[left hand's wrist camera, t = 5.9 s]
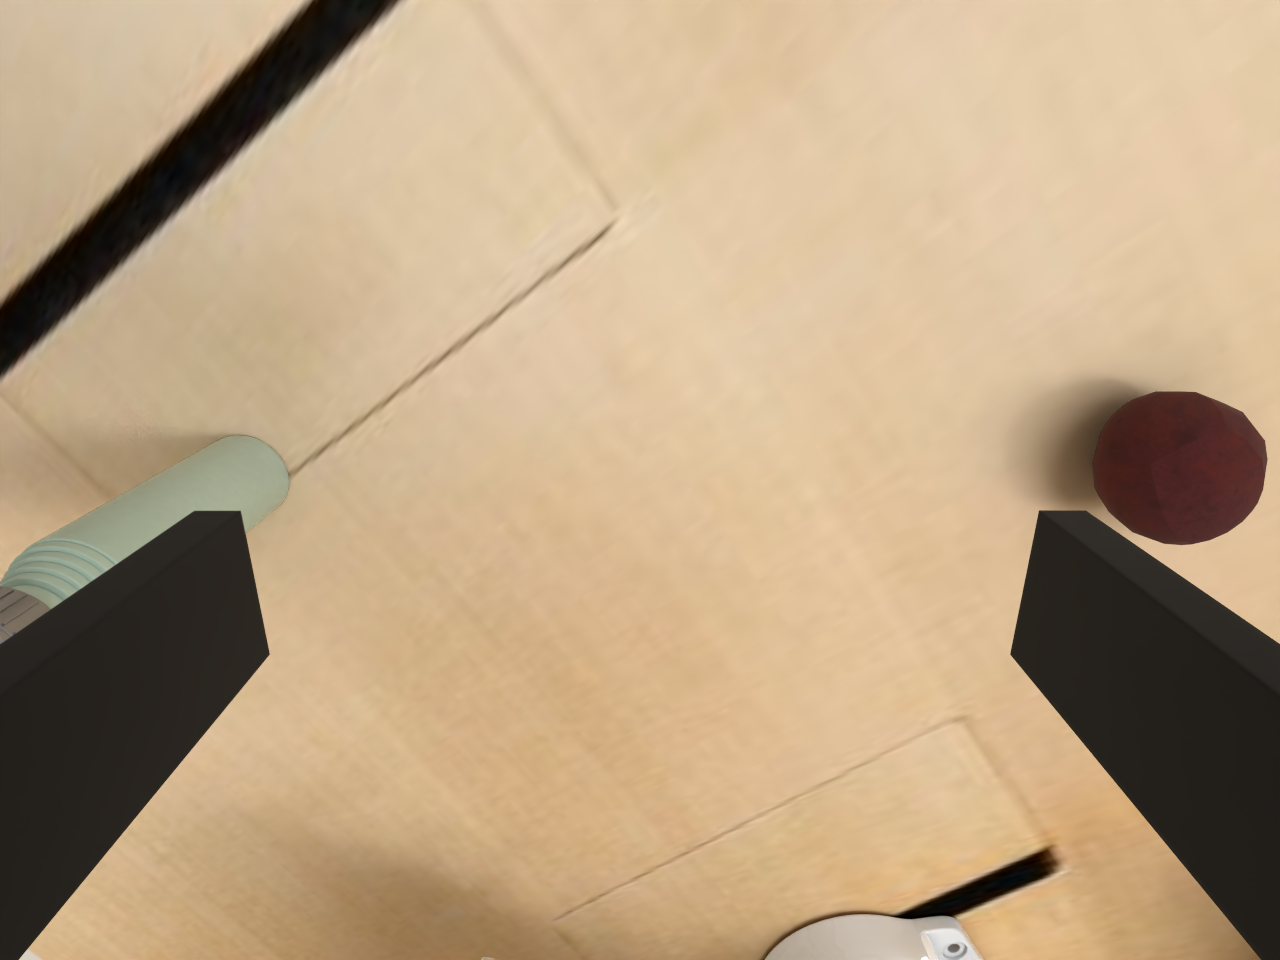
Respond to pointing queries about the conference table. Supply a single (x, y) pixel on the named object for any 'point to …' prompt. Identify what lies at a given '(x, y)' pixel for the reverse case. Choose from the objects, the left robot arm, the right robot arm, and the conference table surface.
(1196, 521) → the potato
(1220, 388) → the conference table surface
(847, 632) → the conference table surface
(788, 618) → the conference table surface
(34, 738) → the left robot arm
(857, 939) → the right robot arm
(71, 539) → the bottle
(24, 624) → the cap
